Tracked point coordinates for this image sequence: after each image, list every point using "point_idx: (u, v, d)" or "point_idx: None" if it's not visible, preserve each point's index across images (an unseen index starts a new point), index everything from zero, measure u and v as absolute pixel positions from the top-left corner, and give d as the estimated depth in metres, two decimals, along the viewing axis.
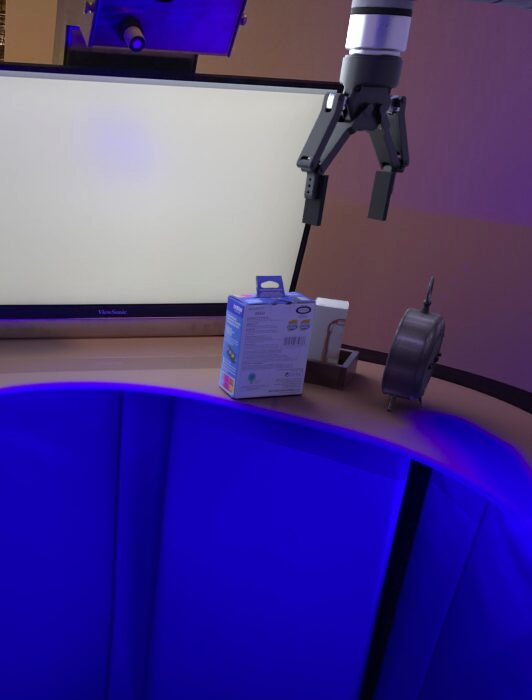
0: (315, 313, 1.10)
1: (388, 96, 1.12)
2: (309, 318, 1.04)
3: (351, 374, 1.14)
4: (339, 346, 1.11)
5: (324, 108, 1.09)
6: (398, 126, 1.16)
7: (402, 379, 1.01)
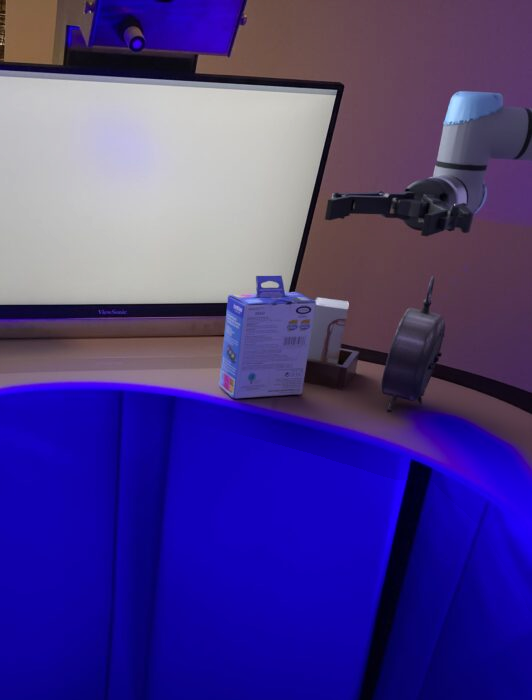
0: (315, 313, 1.10)
1: (442, 201, 1.23)
2: (309, 318, 1.04)
3: (351, 374, 1.14)
4: (339, 346, 1.11)
5: None
6: None
7: (402, 379, 1.01)
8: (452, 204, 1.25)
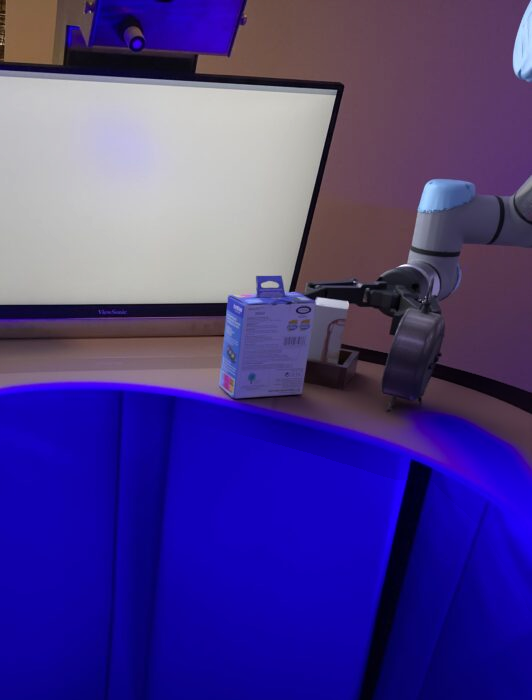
0: (315, 313, 1.10)
1: (414, 291, 1.26)
2: (309, 318, 1.04)
3: (351, 374, 1.14)
4: (339, 346, 1.11)
5: None
6: None
7: (402, 379, 1.01)
8: (424, 293, 1.27)
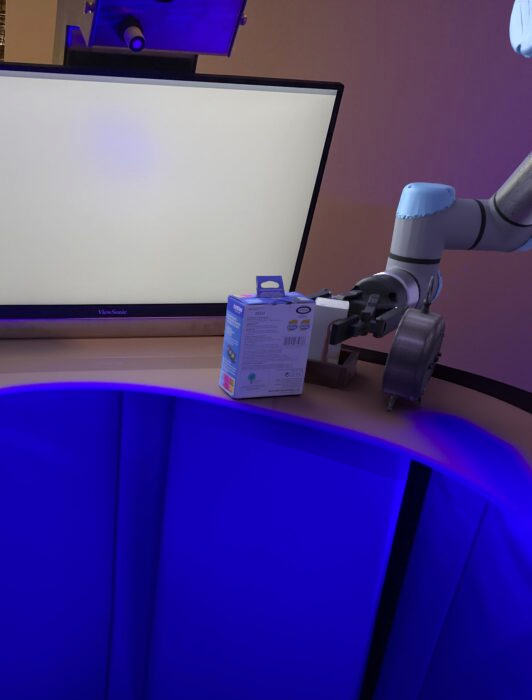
0: (315, 313, 1.10)
1: (390, 301, 1.19)
2: (309, 318, 1.04)
3: (351, 374, 1.14)
4: (339, 346, 1.11)
5: None
6: None
7: (402, 379, 1.01)
8: (402, 303, 1.21)
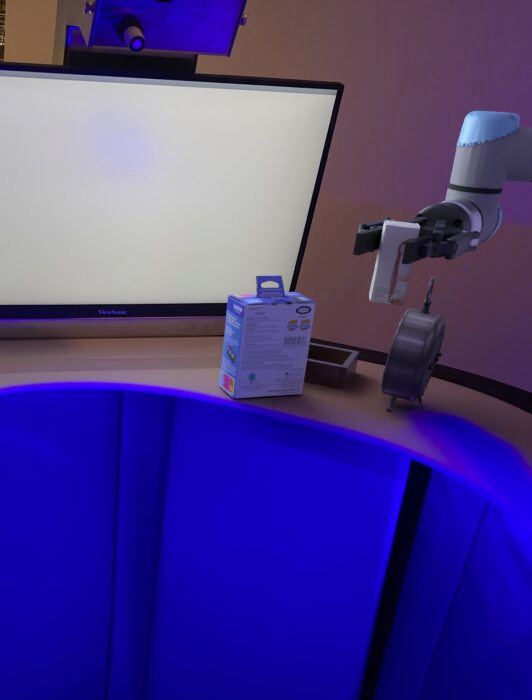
0: (386, 233, 1.08)
1: (456, 227, 1.17)
2: (309, 318, 1.04)
3: (351, 374, 1.14)
4: (410, 268, 1.08)
5: None
6: None
7: (402, 379, 1.01)
8: (467, 230, 1.19)
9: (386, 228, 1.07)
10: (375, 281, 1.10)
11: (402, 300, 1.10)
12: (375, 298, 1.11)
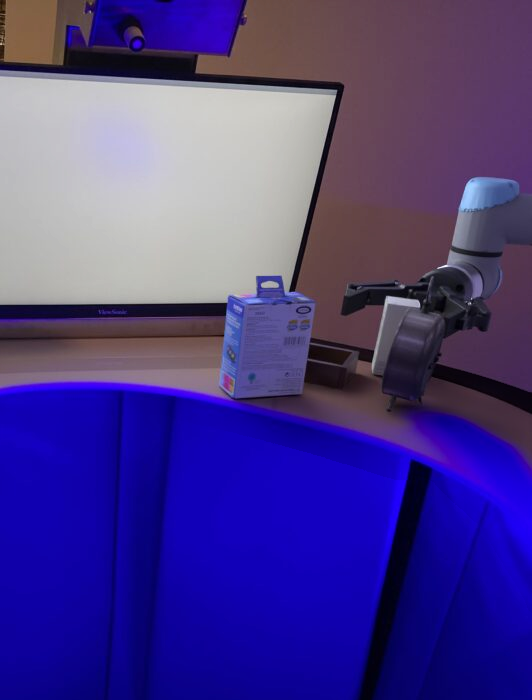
0: (387, 311, 1.13)
1: (458, 293, 1.22)
2: (309, 318, 1.04)
3: (351, 374, 1.14)
4: None
5: None
6: (475, 303, 1.17)
7: (402, 379, 1.01)
8: (468, 295, 1.24)
9: (388, 306, 1.13)
10: (377, 355, 1.15)
11: None
12: (377, 371, 1.16)
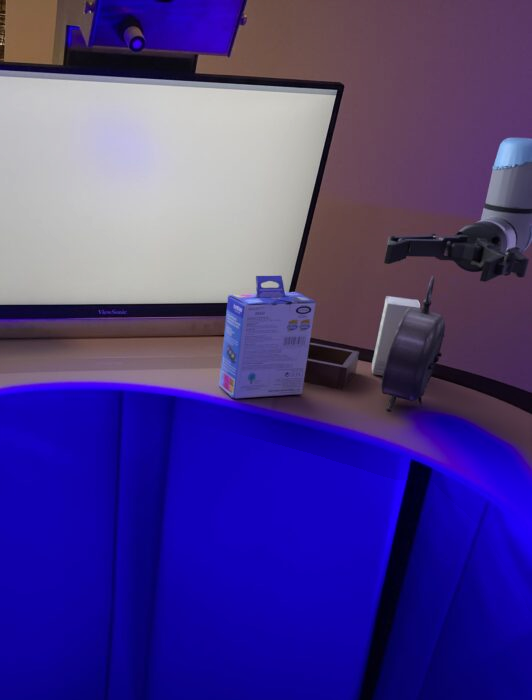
0: (387, 311, 1.13)
1: (494, 244, 1.28)
2: (309, 318, 1.04)
3: (351, 374, 1.14)
4: None
5: None
6: None
7: (402, 379, 1.01)
8: (503, 247, 1.30)
9: (388, 306, 1.13)
10: (377, 355, 1.15)
11: None
12: (377, 371, 1.16)
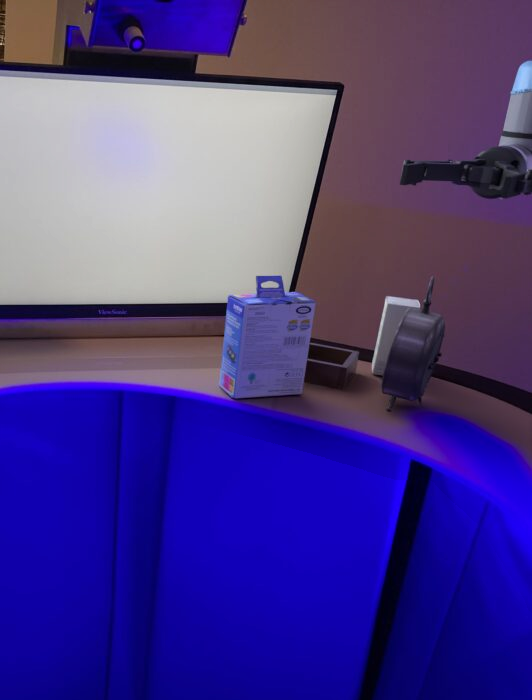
0: (387, 311, 1.13)
1: None
2: (309, 318, 1.04)
3: (351, 374, 1.14)
4: None
5: None
6: None
7: (402, 379, 1.01)
8: (523, 171, 1.26)
9: (388, 306, 1.13)
10: (377, 355, 1.15)
11: None
12: (377, 371, 1.16)
